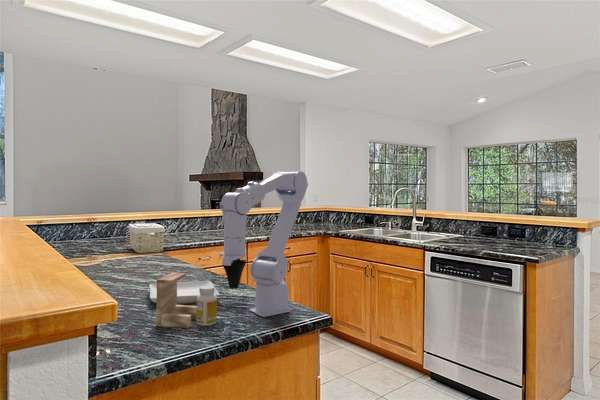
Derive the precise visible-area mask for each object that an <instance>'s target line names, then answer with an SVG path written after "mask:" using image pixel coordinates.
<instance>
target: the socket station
mask: <svg viewBox="0 0 600 400" xmlns="http://www.w3.org/2000/svg"><path fill="white" fill-rule="evenodd" d="M186 276H187V273H186V272H170V273H169V274H166V275H164V276H162V277H160V278H157V279H156V283H157V301H156V305H155V306H156V310H155V313H156V315H155V318H156V319H155V320H156V321H155V322H156V323H155V325H156V327H169V328H170V327H171V328H185V329H190V328H191V327H192V318H193V319H196V312H197V305H188V304H187V305H186V304H185V305H184V304H177V282H178V281H180V279H183V278H184V277H186Z"/></svg>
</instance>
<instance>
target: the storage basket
mask: <svg viewBox="0 0 600 400" xmlns="http://www.w3.org/2000/svg"><path fill="white" fill-rule="evenodd" d="M128 230H129V243H130V245H129V246H130V249H132V250H133V251H134V252H136V254H137V253H139V254H143V253H144V254H146V253H148V254H149V253H160V252H164V241H165V238H164V237H165V232H166V229H165V227H164V225H161V224H158V223H154V222H153V223H129V224H128Z"/></svg>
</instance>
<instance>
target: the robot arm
mask: <svg viewBox="0 0 600 400" xmlns="http://www.w3.org/2000/svg"><path fill="white" fill-rule="evenodd" d="M308 186H309V182H308V178H307V175H306V173H305V172H304V171H303V170H300V171H299V170H298V171H276V172H274V173H272V174H271V175H270V177H268V178H266V179H264V180H263V181H261V182H257V181H248V182H247V185H246V186H243V187H237V188H236V191H234V192H226V193H225V194H224V195H223V196H222V198H221V201H220V202H219V208H220V210H221V212H222V218H223V220H224V223H223V225H224V226H223V229H224V231H223V252H220V253H219V257H222V261H221V265H222V267H223V269H224V272H225V274H226V277H227V282H228V283H227V284H228V288H229V289H236V290H237V289H239V287H240V286H239V285H240V283H241V279H242V274H243V270H244V268H245V266H246V264H247V260H245V259H244V258H247V253H246V243H247V242H246V240H247V239H246V236H247V235H246V234H247V233H246V232H247V214H249V212H250V211H251V209H252V207H253V206H254V205H257V204H258V203H261V202H262V201H263V200H264V199H265V197H266V194H269V193H271V192H273V191H275V193H276V194H277V197H278V199H279V201H281V202H282V203H283V204H282V206H281V209H280V212H279V214H278V217H277V220H276V222H275V225H274V228H273V229H272V232H271V235H270V238H269V241H268V243H267V245H266V248H264V249H263V250H261V251H259V252H257V254H256V257H255V258H254V259H253V261H252V262H251V264H250V271H249V272H250V276H251V277H252V278H253V282H255V305H254V306H255V307H253V308H250V309H249V311H250V312H251V313H254V314H256V315H258V316H260V317H263V318H266V317H270V316H276V315H281V314H285V313H289V312H291V310H290V309H289V287H288V284H287V282H285V281H284V280H285V278H286V277H287V276H286V275H287V267H288V264H289V260H288V259H287V257H286V255H284V252H285V249H286V247H287V244H288V242H289V239H290V236H291V233H292V231H293V227H294V225H295V222H296V219H297V216H298V214H299V211H300V208H301V205H302V201H303V200H304V197H305V195H306V191H307V189H308Z"/></svg>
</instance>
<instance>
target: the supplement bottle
mask: <svg viewBox="0 0 600 400" xmlns="http://www.w3.org/2000/svg"><path fill="white" fill-rule="evenodd" d="M215 288H216V287H215V285H213V286H202V287H200V289H199V292H200V295H198V296H197V302H196V306H197V312H196V318H195V320H196V321H195V322H196V324H197V326H198V325H199V326H203V327H204V326H213V325H215V324H216V323H217V320H218V319H217V317H218V311H217V310H218V297H217V296H216V295H215V294H214V291H215Z"/></svg>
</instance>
